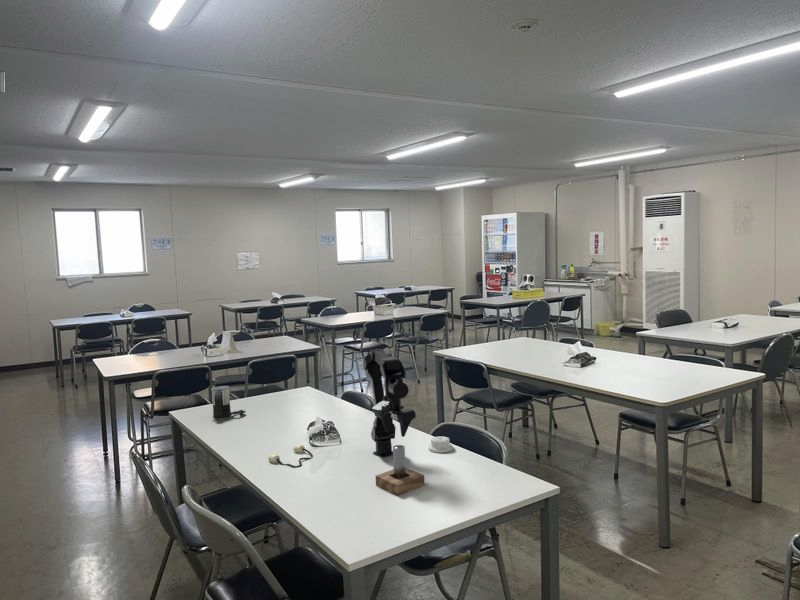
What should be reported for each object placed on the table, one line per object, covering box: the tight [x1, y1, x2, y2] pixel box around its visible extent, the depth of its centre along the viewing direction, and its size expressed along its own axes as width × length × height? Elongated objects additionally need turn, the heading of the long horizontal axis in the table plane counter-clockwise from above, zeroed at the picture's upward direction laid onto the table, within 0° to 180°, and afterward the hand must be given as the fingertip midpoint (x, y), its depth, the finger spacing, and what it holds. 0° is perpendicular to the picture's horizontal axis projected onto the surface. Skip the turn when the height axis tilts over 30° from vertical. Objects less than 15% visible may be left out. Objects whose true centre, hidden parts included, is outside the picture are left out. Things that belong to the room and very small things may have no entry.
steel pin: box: [392, 444, 406, 480], centre depth 200 cm, size 4×4×13 cm
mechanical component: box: [427, 435, 454, 454], centre depth 234 cm, size 10×4×10 cm
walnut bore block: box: [375, 466, 426, 496], centre depth 200 cm, size 12×12×4 cm
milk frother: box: [210, 385, 247, 418], centre depth 300 cm, size 14×16×15 cm
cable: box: [267, 444, 314, 469], centre depth 231 cm, size 16×16×4 cm
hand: (395, 434), depth 215 cm, fingers open, 9 cm apart
